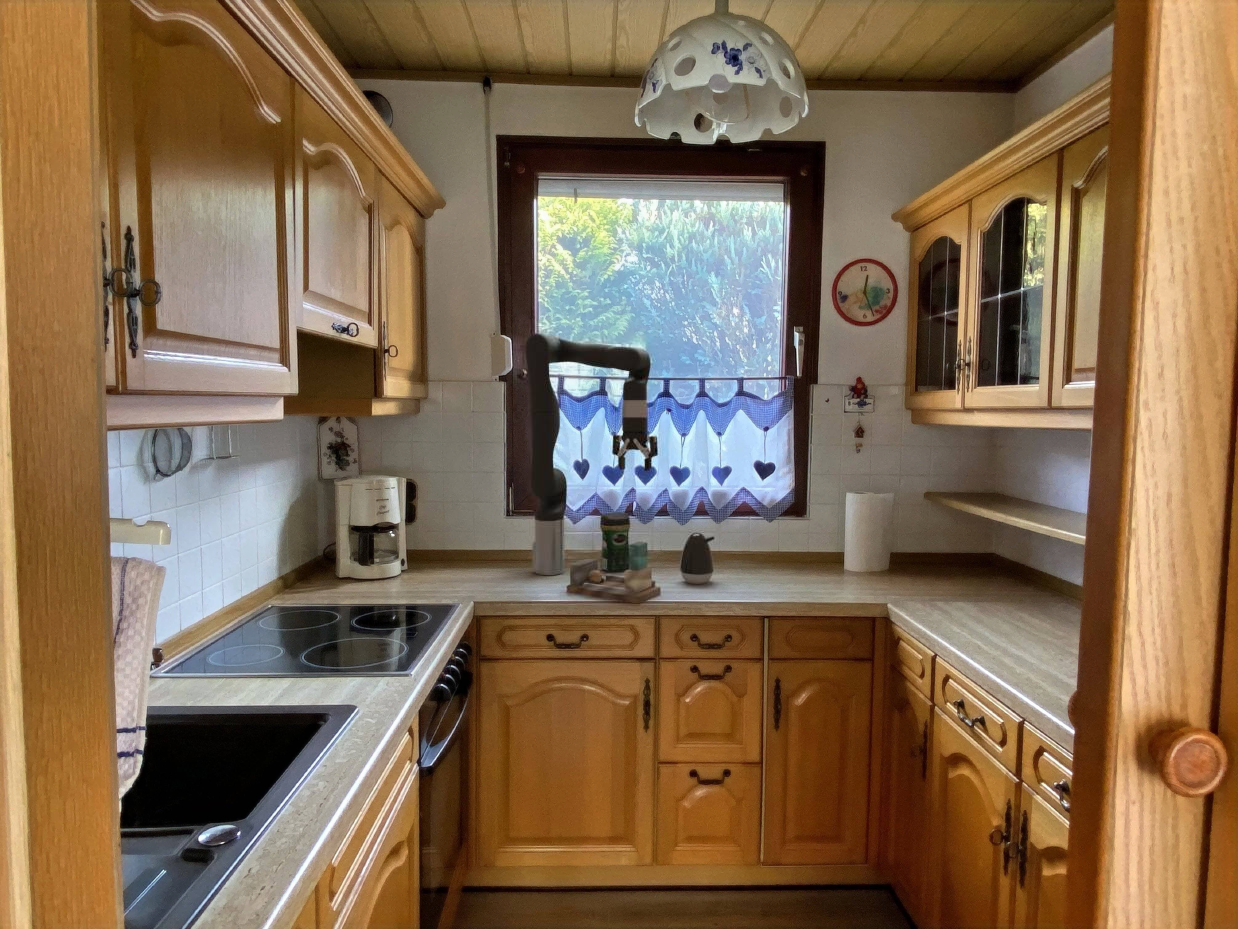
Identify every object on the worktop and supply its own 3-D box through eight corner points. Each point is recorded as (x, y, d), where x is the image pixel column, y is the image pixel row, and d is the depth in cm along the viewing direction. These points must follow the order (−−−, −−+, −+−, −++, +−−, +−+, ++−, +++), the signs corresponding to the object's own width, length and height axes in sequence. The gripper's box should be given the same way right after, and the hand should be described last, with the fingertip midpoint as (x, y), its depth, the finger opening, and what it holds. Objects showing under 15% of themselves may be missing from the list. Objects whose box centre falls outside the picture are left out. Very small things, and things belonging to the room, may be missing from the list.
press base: (565, 592, 221) (565, 565, 220) (590, 583, 232) (590, 557, 232) (638, 604, 209) (638, 575, 208) (661, 593, 220) (661, 566, 219)
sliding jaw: (624, 592, 213) (624, 546, 212) (642, 584, 221) (642, 540, 220) (634, 594, 211) (634, 547, 210) (651, 586, 220) (651, 541, 219)
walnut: (585, 584, 223) (585, 570, 222) (593, 581, 226) (593, 568, 226) (597, 586, 221) (597, 572, 220) (604, 583, 224) (604, 569, 224)
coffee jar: (624, 566, 256) (624, 510, 254) (633, 571, 249) (634, 513, 247) (597, 568, 252) (596, 512, 251) (606, 573, 245) (605, 515, 243)
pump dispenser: (710, 587, 227) (710, 536, 226) (676, 584, 230) (676, 534, 229) (717, 579, 237) (717, 530, 235) (684, 577, 240) (684, 528, 239)
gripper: (607, 415, 229) (607, 470, 230) (649, 416, 222) (649, 472, 223) (620, 415, 235) (620, 468, 237) (662, 415, 228) (661, 470, 230)
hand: (634, 470), depth 230 cm, fingers open, 8 cm apart
